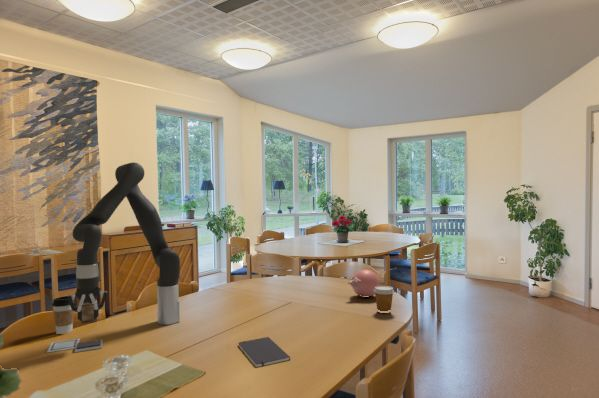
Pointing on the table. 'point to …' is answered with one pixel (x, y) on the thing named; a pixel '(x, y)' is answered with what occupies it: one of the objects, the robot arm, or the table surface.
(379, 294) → the disposable coffee cup
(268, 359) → the notebook
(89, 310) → the stamp
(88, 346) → the inkpad
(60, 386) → the table surface
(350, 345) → the table surface
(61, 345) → the card
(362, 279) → the pink rounded piece
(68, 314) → the coffee cup
